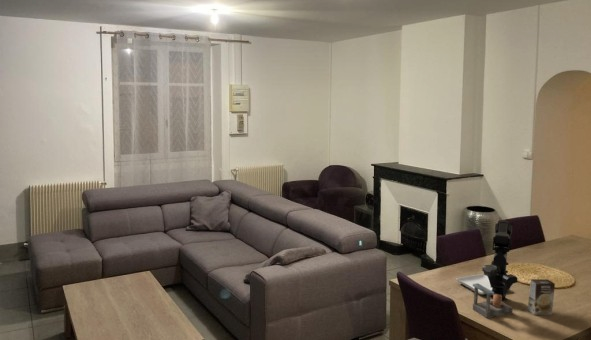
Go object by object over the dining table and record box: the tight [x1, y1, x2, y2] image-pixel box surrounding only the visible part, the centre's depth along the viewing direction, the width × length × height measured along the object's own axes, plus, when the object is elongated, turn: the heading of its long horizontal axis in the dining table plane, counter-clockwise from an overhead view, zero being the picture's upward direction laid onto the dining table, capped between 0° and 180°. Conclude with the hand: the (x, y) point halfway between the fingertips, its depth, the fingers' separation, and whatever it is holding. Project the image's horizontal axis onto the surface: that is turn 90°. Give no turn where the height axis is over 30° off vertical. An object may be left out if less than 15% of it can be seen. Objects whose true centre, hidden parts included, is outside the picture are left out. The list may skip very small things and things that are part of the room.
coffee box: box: [527, 278, 556, 316], centre depth 243 cm, size 9×6×16 cm
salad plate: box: [455, 273, 512, 295], centre depth 275 cm, size 21×21×3 cm
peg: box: [492, 294, 503, 308], centre depth 246 cm, size 4×4×8 cm
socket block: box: [472, 283, 514, 319], centre depth 244 cm, size 16×12×13 cm
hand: (498, 290), depth 245 cm, fingers open, 9 cm apart
